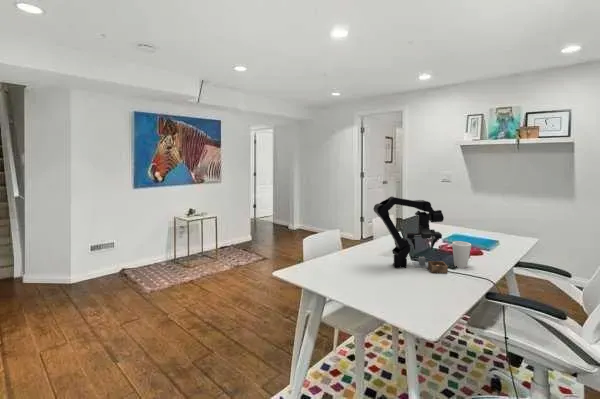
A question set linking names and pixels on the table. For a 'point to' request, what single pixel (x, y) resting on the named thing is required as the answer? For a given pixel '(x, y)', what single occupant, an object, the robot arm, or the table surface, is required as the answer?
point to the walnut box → (437, 267)
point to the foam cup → (461, 253)
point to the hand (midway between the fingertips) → (422, 249)
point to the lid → (421, 263)
